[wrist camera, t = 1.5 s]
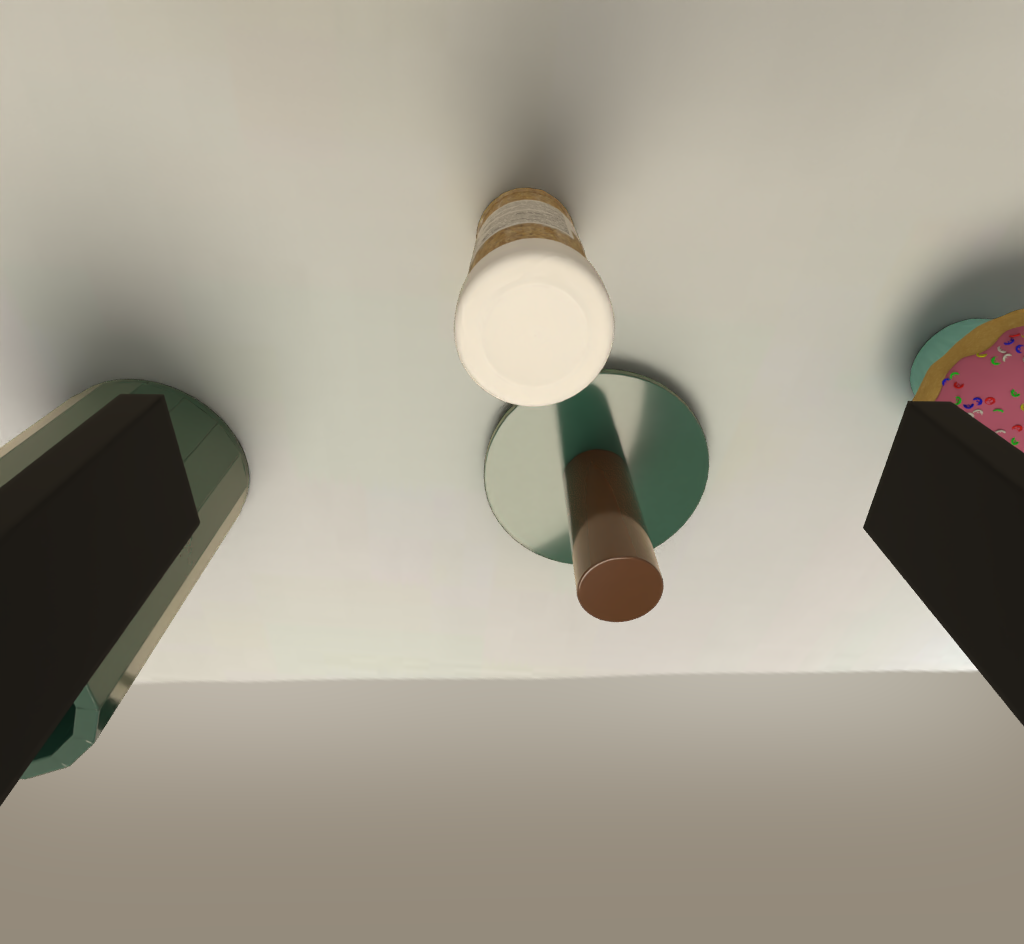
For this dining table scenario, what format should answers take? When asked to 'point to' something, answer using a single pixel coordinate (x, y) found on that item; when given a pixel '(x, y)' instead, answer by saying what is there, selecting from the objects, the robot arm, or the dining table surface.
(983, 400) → the cupcake
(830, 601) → the dining table surface
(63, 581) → the robot arm
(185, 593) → the canister
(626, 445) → the canister lid
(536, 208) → the sprinkles bottle
